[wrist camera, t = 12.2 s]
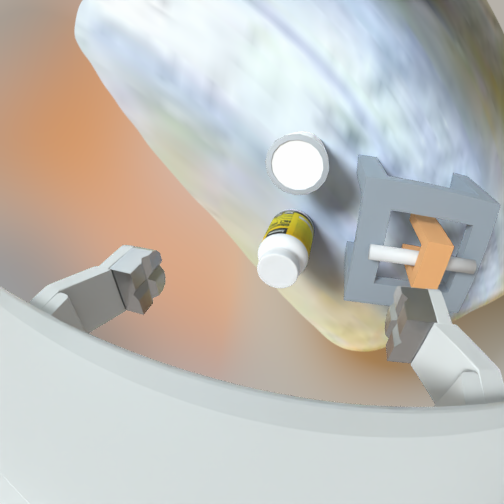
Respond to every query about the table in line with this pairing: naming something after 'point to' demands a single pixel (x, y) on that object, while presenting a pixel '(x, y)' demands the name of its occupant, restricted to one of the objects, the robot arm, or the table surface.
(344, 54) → the table surface
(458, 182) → the square frame with slider
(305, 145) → the shot glass
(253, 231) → the table surface
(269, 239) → the pill bottle
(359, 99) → the table surface
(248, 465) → the robot arm
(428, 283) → the tall tan box
